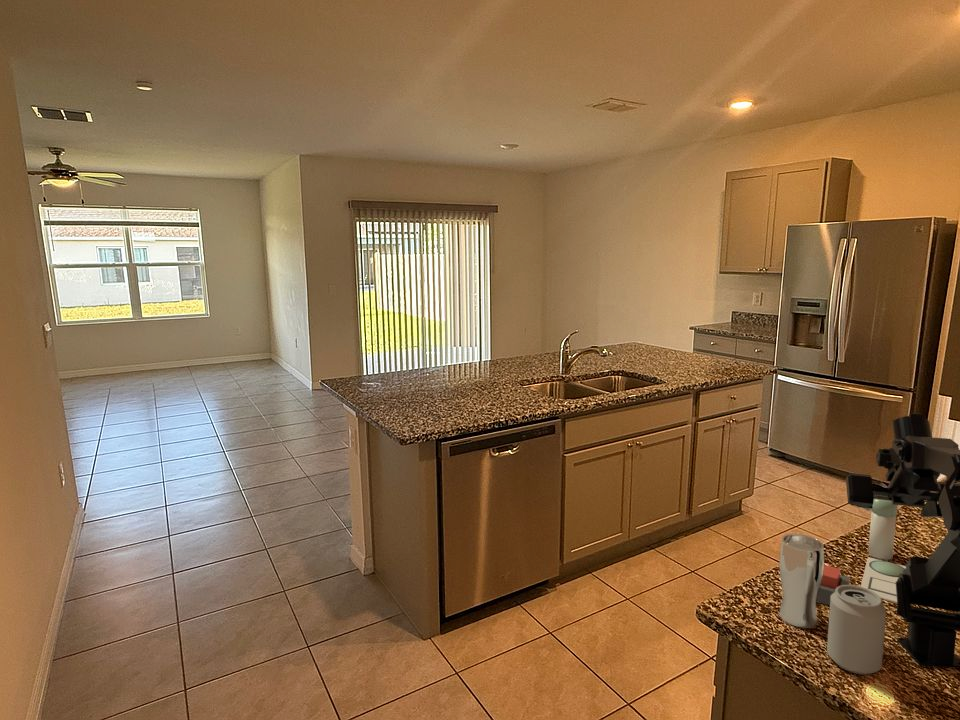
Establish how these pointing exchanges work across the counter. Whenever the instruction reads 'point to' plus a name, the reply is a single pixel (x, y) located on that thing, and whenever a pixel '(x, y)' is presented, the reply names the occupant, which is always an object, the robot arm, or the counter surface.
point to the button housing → (830, 591)
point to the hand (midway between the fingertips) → (894, 511)
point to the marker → (882, 529)
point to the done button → (830, 577)
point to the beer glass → (800, 578)
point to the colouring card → (882, 578)
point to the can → (856, 629)
